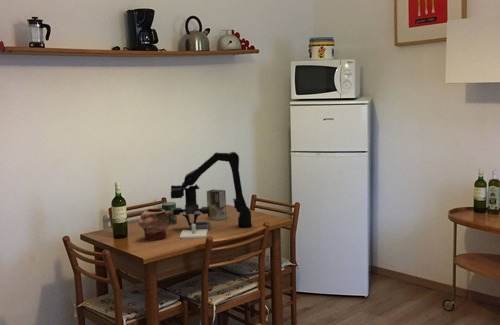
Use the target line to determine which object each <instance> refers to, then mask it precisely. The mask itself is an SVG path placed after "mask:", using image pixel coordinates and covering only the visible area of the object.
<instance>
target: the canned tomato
mask: <svg viewBox="0 0 500 325" xmlns="http://www.w3.org/2000/svg"><path fill="white" fill-rule="evenodd" d="M174 208H177V203H176V202H174V201H173V202H172V201H170V202H169V201H167V202H163V203H161V209H162V210H165V211H166V212H167V211H170V212H172V213H173V210H174ZM177 218H178V217H177V215H174V219H173V221H172V223H171V224H170V225H175V223H176V224H177V223H178V220H177ZM168 219H169V222H170V221H171V216H170V215H168Z"/></svg>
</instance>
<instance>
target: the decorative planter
mask: <svg viewBox="0 0 500 325" xmlns="http://www.w3.org/2000/svg"><path fill="white" fill-rule="evenodd" d="M168 215H170V216H171V221H170V222H169V219H168ZM173 219H174V215H173V213H172V212H170V211H167V212H166V211H165V210H162V208H148V209H146V210H145V211H143V212H142V213H141V215H140V218H139V220H138V226H139V227H141V229H142V230H143V231H144V238H145V239H147V240H151V241H152V240H153V241H154V240H155V241H156V240H157V239H158V240H163V239H165V237H166V235H167V229H168V228H169V227H170V226H171V225H172V224H171V223H172V221H173ZM162 238H163V239H162Z"/></svg>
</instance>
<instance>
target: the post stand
mask: <svg viewBox="0 0 500 325" xmlns="http://www.w3.org/2000/svg"><path fill="white" fill-rule="evenodd" d="M208 232H209V230H208V229H201V230H196V224H192V230H190V229H182V231H181V232H180V235H179V239H180V238H183V239H206V238H207V236H208Z"/></svg>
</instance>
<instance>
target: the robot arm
mask: <svg viewBox="0 0 500 325" xmlns="http://www.w3.org/2000/svg"><path fill="white" fill-rule="evenodd" d="M219 161H220V162H228V164H229V166H230V169H231V174H232V181H233V186H234V191H235V192H234V193H235V198H232V200H233V207H234V209H235V210H236V211H237V213H239V214H238V217H237V218H238V219H237V220H238V222H237V223H238V224H237V225H238V227H239V228H252V227H253V226H252V211H251V209H250V208H249V207H248V206H247V203H246V201H245V198H244V195H243V187H242V183H241V176H240V175H241V174H240V170H239V169H240V168H239V167H240V156H239V155H238V153H237V152H236V151H230V152H218V151H217V152H214V153H213V154H212V155H211V156H210V157H209V158H208V159H206V160H205V161H204V162H203V163H202V164H201V165H199V166H198V167H196V168H195V169H194V170H191V171H189V172H188V173H186V174H185V176H184V181H183V182H182V183H181V184H180V185H171V186H170V198H171V199H183V197H184V196H185V199H184V200H185V205H184V208H182V207H176V208H174V210H173V215H176V216H178V215H179V216H180V214H182V217H185V219H186V221H187V224H188V227H189V226H190V224H191V217H190V216H191V215H193V222H194V224H195V223H196V222H197V219H198V217H199V216H201V214H203V215H208V214H209V212H210V209H209V207H207V206H201V208H199V204H198V203H197V201H198V200H197V190H200V186H198V184H197V183H196V182H197V181H198V180H199V178H200V177H201V176H202V175H203V174H204V173H205V172H206V171H207V170H209V169H210V168H211V167H212V166H214V164H216V163H217V162H219ZM194 184H195V185H194Z"/></svg>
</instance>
